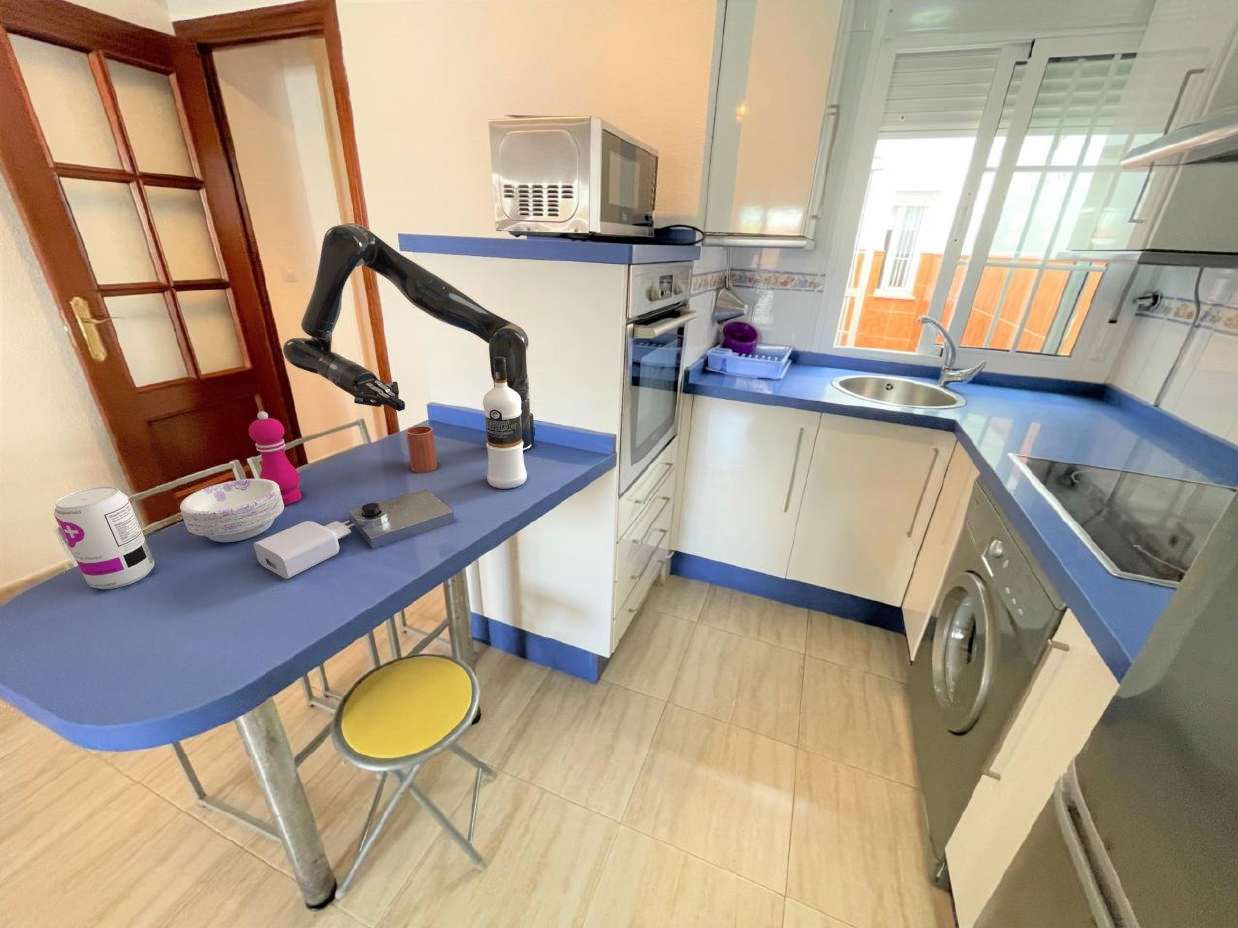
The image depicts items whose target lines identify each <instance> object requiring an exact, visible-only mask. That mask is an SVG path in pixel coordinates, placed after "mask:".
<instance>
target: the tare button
mask: <svg viewBox="0 0 1238 928" xmlns="http://www.w3.org/2000/svg"><path fill="white" fill-rule="evenodd" d="M377 503H378V502H370V503H369V502H368V503H365V504H364V505H362V506H361V508H362V512H363V516H364V517H366V518H368V517H374V516H377V515H379V514H380V509H379V505H378V504H377Z"/></svg>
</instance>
